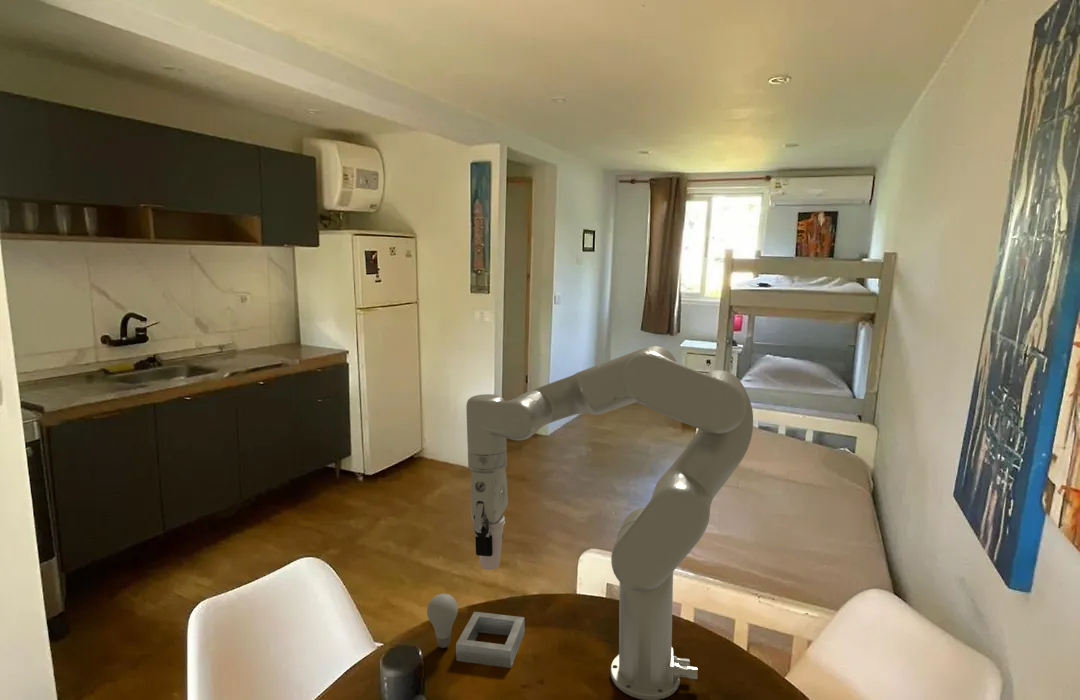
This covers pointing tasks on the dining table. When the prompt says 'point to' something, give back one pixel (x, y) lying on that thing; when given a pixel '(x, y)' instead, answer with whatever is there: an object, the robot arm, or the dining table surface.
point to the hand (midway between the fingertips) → (489, 545)
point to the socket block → (490, 651)
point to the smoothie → (493, 544)
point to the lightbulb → (442, 617)
